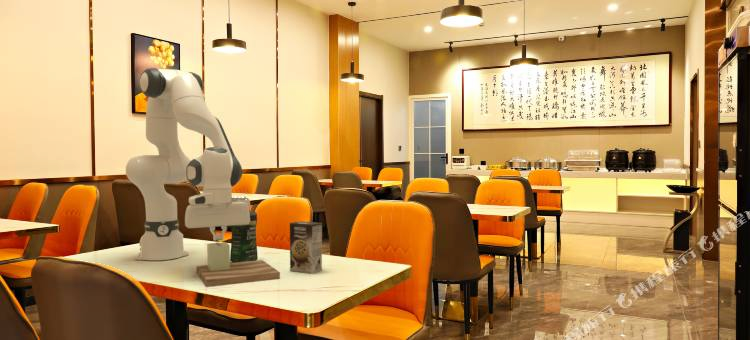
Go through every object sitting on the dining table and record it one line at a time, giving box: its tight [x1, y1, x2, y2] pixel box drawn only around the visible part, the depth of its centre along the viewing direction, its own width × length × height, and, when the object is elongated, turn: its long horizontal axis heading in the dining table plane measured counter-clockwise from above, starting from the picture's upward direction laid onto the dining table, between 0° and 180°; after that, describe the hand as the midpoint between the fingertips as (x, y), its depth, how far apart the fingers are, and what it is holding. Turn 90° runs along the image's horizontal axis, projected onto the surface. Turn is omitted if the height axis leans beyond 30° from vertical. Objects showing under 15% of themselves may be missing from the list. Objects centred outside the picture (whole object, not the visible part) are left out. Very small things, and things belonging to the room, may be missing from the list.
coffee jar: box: [230, 210, 258, 263], centre depth 190 cm, size 10×8×19 cm
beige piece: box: [206, 241, 231, 271], centre depth 169 cm, size 6×6×8 cm
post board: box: [195, 259, 281, 288], centre depth 168 cm, size 22×22×8 cm
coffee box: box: [289, 220, 323, 274], centre depth 174 cm, size 9×6×16 cm
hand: (218, 240), depth 169 cm, fingers closed
